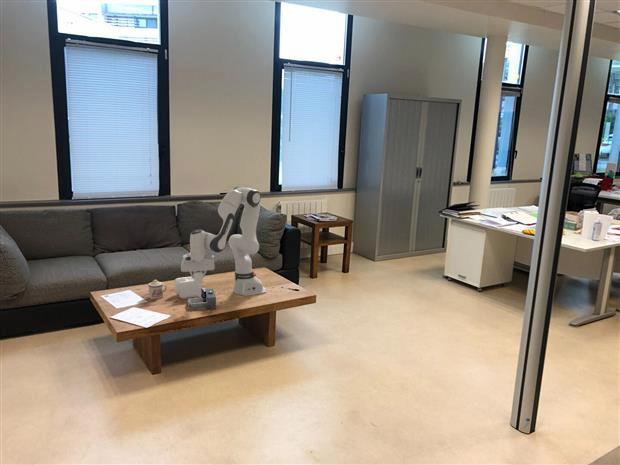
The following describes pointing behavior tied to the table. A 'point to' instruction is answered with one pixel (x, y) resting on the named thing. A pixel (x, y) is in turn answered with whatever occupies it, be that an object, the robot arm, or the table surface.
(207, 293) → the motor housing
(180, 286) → the cable organizer
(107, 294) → the table surface
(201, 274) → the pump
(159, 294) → the teacup with lid
